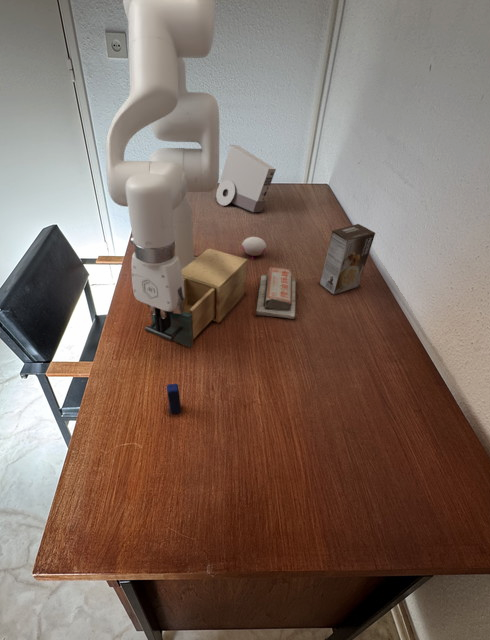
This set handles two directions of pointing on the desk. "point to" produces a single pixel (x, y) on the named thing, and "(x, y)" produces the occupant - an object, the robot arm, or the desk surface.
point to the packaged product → (277, 294)
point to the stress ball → (254, 246)
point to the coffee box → (346, 258)
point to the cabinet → (219, 277)
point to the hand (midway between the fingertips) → (163, 328)
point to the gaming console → (244, 180)
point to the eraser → (173, 398)
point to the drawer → (189, 314)
